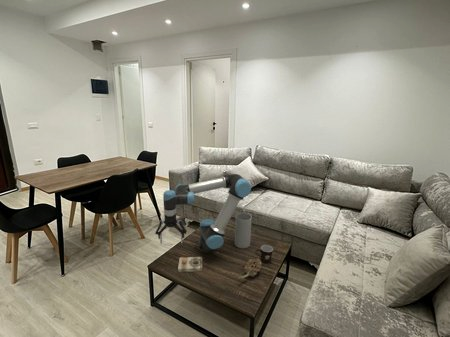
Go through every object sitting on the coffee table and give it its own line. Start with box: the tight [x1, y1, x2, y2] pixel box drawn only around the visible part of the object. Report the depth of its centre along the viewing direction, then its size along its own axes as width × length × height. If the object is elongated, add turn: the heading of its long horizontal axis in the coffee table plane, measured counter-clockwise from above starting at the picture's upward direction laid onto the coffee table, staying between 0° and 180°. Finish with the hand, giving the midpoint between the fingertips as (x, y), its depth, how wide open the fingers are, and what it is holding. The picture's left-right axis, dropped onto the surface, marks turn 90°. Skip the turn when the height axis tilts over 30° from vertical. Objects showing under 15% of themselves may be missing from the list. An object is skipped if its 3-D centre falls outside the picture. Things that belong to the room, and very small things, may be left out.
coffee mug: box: [255, 244, 274, 264], centre depth 175 cm, size 12×9×10 cm
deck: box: [177, 256, 203, 273], centre depth 168 cm, size 16×12×2 cm
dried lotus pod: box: [238, 258, 262, 280], centre depth 158 cm, size 22×10×10 cm, turn 144°
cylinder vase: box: [234, 212, 253, 249], centre depth 191 cm, size 12×12×25 cm
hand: (171, 242), depth 162 cm, fingers open, 13 cm apart
